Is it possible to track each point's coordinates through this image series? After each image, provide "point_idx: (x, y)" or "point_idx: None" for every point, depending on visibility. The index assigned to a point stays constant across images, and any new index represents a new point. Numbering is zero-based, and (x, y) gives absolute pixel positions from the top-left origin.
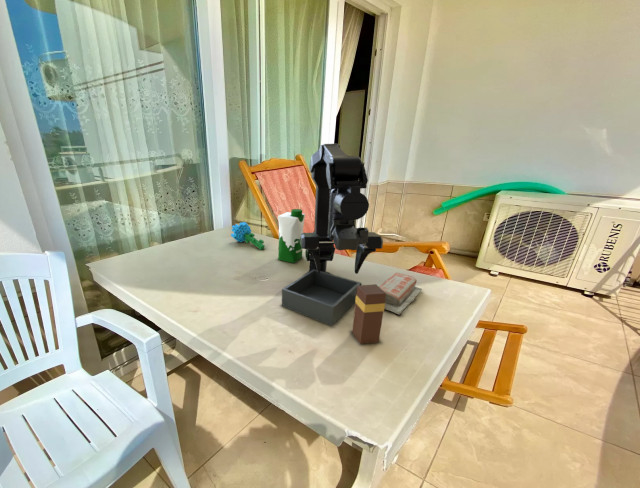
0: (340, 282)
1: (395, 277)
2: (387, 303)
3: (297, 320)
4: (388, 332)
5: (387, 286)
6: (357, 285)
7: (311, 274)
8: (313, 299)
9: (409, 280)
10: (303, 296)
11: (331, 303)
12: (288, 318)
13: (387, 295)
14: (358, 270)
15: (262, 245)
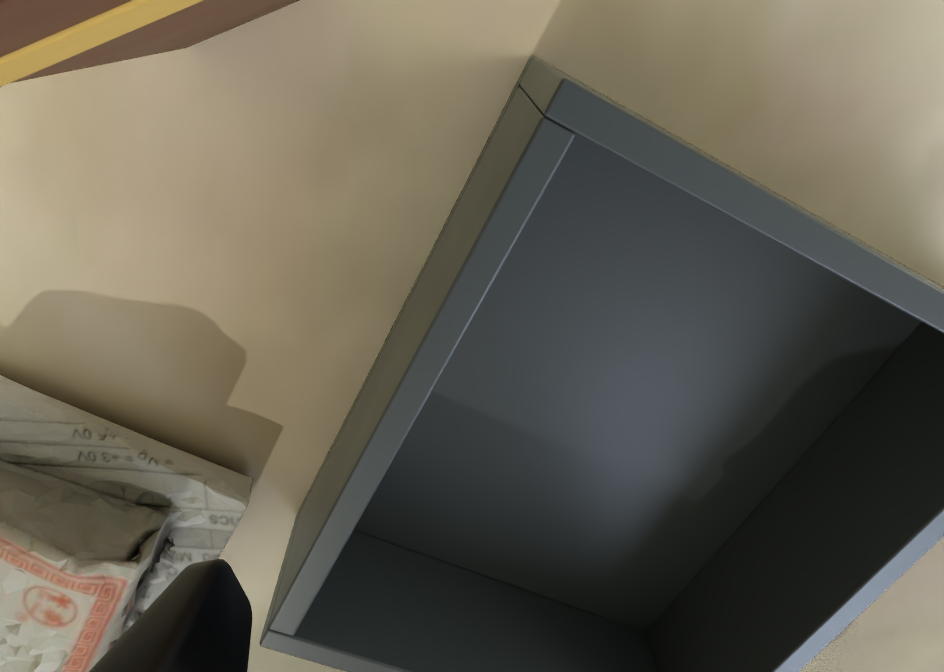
0: (450, 643)
1: None
2: (58, 469)
3: (849, 82)
4: None
5: (30, 642)
6: (292, 594)
7: None
8: (788, 225)
9: None
10: (895, 272)
11: (520, 403)
12: (931, 99)
13: (22, 521)
14: (143, 624)
15: None
